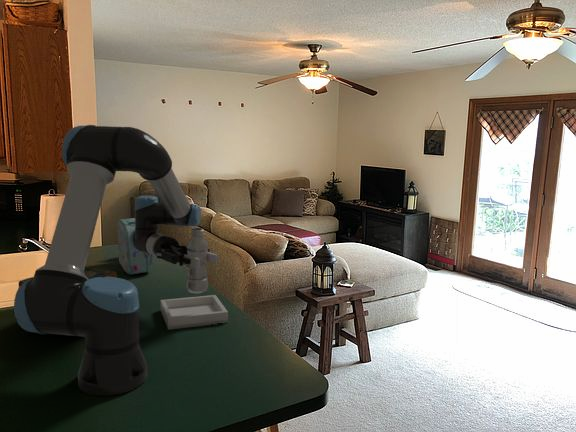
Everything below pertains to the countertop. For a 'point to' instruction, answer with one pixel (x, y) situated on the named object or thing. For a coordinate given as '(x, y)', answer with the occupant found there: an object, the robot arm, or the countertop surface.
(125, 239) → the lunch box
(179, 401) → the countertop surface
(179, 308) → the tray
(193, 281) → the plastic bottle
